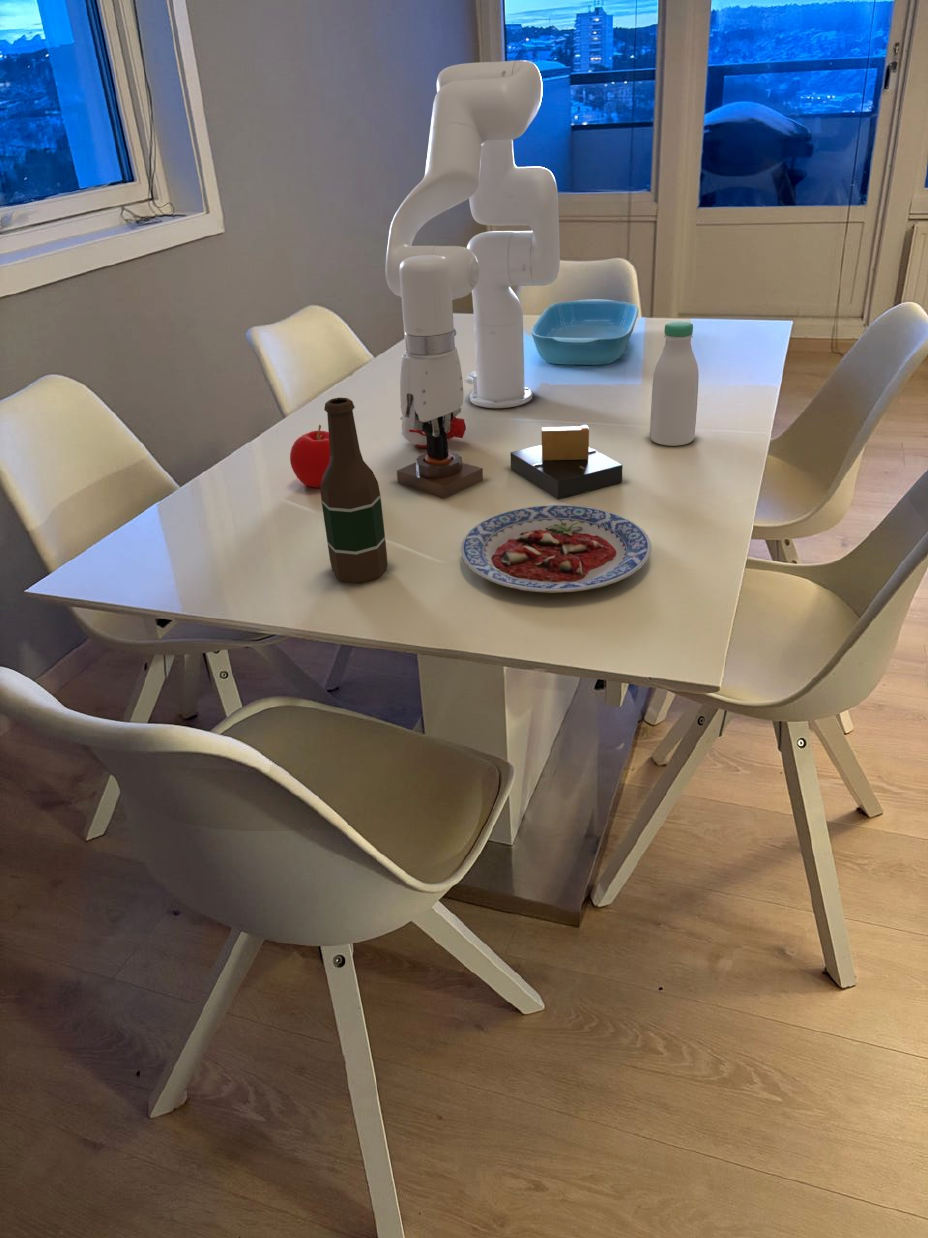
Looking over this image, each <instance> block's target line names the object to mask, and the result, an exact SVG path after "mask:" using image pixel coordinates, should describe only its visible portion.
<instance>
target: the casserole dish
mask: <svg viewBox="0 0 928 1238" xmlns="http://www.w3.org/2000/svg"><path fill="white" fill-rule="evenodd" d="M638 315H639V307H638V306H637V304H635V303H631V302H626V301H618V300H611V299H600V298H597V299H595V298H594V299H593V298H592V299H577V300H567V301H560V302H556V303H552V304H551V305H549V306H547V308H545V310H544V311H543V312H542V313H541V315H540V316H539V317H538V319H537V320H536V321H535V323H534V324H533V325H532V327H531V329H530V334H531V336H532V339H533V343H534V345H535V348H536V351H537V353H538V355H539V357H540V358H541V359H542V360H543V361H545V362H546V363H548V364H552V365H569V366H572V365H573V366H574V365H575V366H576V365H579V366H602V365H609V364H612V363H614V362H615V361H617V360H618V359H619V358H621V357H622V355H623V354H624V353H625V351H626V349H627V347H628V345H629V342H630V340H631V337H632V334H633V331H634V328H635V325H636V321H637V319H638Z"/></svg>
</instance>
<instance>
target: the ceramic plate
mask: <svg viewBox="0 0 928 1238" xmlns="http://www.w3.org/2000/svg"><path fill="white" fill-rule="evenodd" d="M651 553H652V542H651V539H650V537H649V535H648V534H647V533H646V531H645V530H644V529H643V528H642V527H640V525H638V524H636V522H634V521H632V520H630V519H629V518H626V517H624V516H622V515H619V514H616V513H613V512H610V511H608V510H604V509H599V508H594V507H590V506H589V507H588V506H578V505H567V504H550V505H535V506H529V507H522V508H518V509H513V510H509V511H506V512H502V513H499V514H496V515H494V516H491V517H490V518H487V519H485V520H483V521H481V522H480V523H478V524H476V525H475V526H474V527H473V528H471V529H470V530H469V531H468V532H467V533H466V535H465V536H464V537H463V540H462V541H461V545H460V554H461V557H462V560H463V562H464V563H465V565H466V566H467V567H468V568H469V569H470V570H471V571H472V572H473V573H475V574H476V575H478V576H479V577H481V578H483V579H484V580H487V581H489V582H491V583H494V584H497V585H499V586H502V587H506V588H510V589H515V590H520V591H525V592H526V591H527V592H533V593H534V592H535V593H548V594H549V593H551V594H552V593H574V592H576V593H577V592H582V591H588V590H593V589H598V588H599V589H600V588H602V587H606V586H608V585H613V584H615V583H617V582H620V581H623V580H624V579H626V578H628V577H630V576H632V575H634V574H635V573H636V572H638V571H639V570H640V569H642V567H644V566H645V564H646V563H647V562H648V560H649V558H650V555H651Z"/></svg>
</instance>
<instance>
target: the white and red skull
mask: <svg viewBox="0 0 928 1238" xmlns="http://www.w3.org/2000/svg"><path fill="white" fill-rule="evenodd" d="M400 421H401V431H402V435H403V437H404V439H405V440H407V442H409V443H411V444H412V445H414V447H418V448H423V449H427V440H426V434H423V432H422V430H412V429H409V418H406V417H403V415H402V414H401V416H400ZM428 423H430V422H428ZM466 431H467V425H466V421H465V419H464V418H462V417H461V418H459V417H456V416H455V417H454V418H453V419H452V421H451V423H450V431H449V432H448V433H447V440H450V439H453V438H457V439H463V438H464V436H465V433H466Z"/></svg>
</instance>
